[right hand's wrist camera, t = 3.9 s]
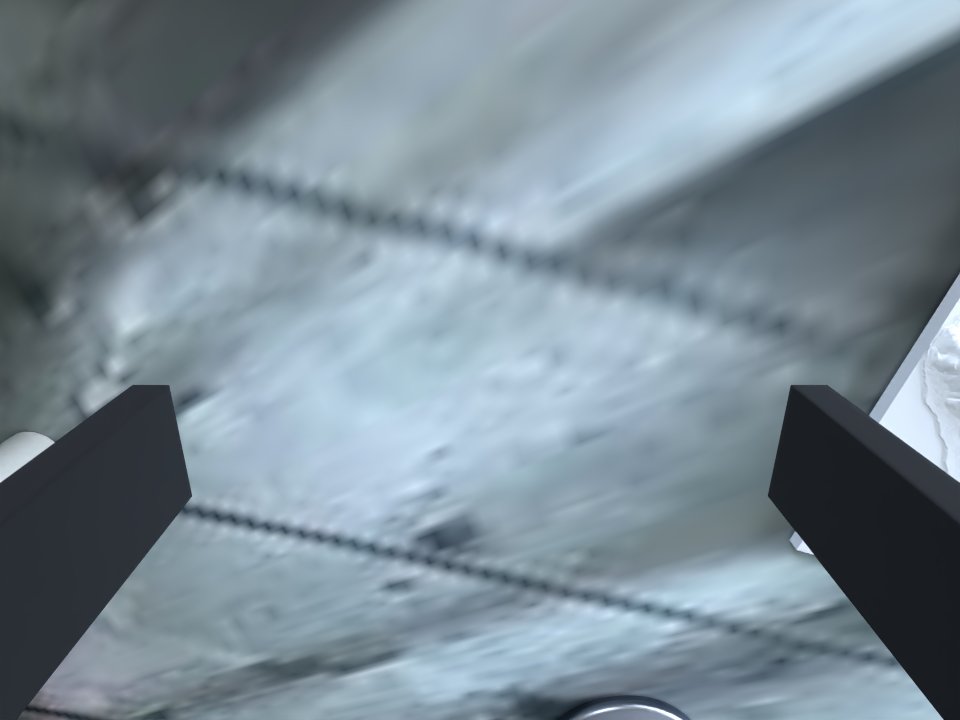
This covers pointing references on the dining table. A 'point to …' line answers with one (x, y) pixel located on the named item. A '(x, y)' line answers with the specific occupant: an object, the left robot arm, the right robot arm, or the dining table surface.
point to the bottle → (20, 451)
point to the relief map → (926, 394)
